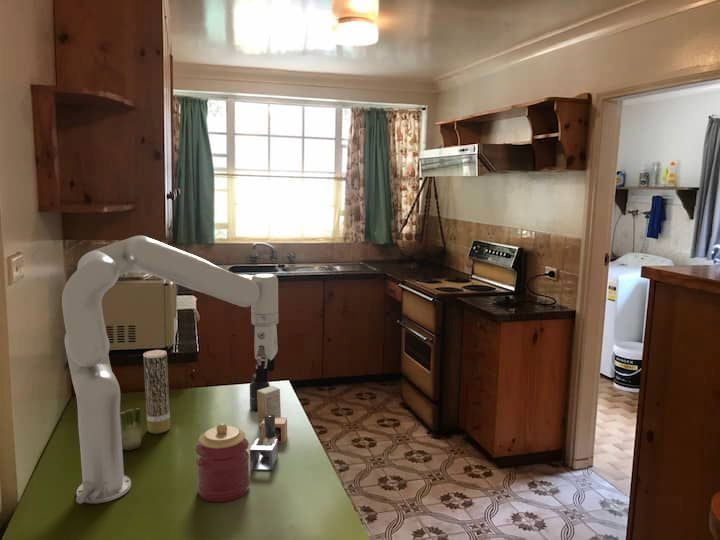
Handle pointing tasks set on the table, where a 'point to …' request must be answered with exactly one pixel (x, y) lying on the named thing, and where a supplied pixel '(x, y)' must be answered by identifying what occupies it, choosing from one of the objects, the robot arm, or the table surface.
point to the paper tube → (156, 391)
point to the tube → (269, 432)
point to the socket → (281, 425)
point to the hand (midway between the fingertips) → (265, 376)
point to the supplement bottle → (253, 392)
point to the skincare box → (268, 402)
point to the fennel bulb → (131, 429)
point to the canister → (222, 464)
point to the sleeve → (260, 461)
